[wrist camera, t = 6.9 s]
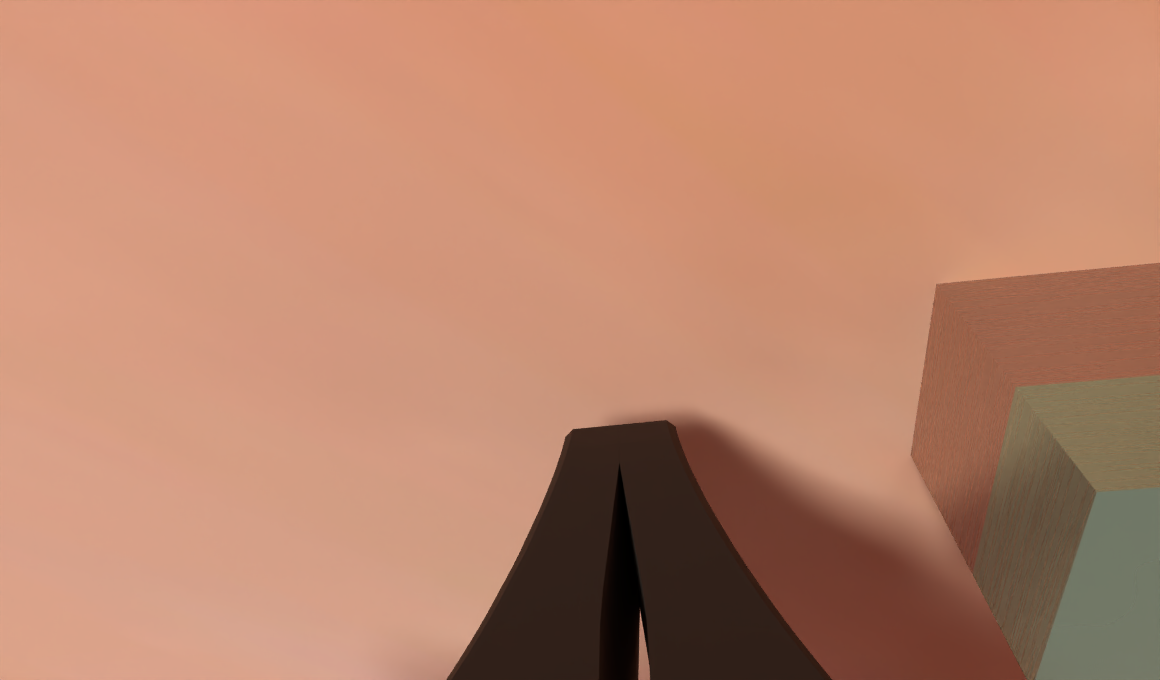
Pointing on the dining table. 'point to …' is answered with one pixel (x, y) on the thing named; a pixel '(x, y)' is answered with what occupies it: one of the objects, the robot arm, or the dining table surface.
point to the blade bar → (1052, 461)
